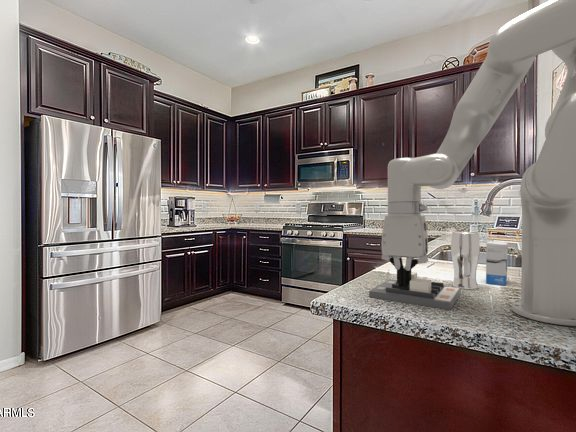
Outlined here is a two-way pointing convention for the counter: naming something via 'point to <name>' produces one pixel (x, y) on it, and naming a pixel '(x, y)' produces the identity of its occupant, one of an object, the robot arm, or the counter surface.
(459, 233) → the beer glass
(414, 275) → the tab
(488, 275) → the ink box
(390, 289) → the switch panel
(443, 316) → the counter surface
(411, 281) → the tab
